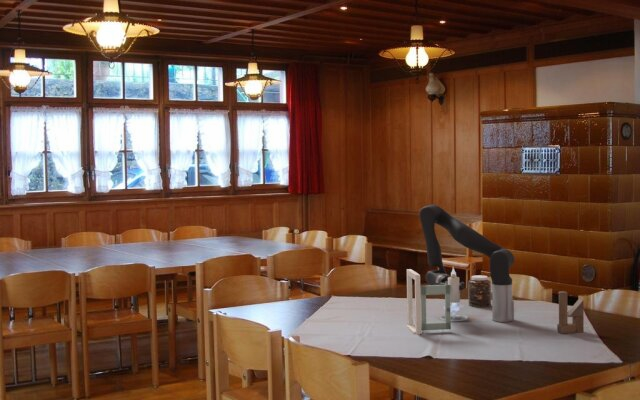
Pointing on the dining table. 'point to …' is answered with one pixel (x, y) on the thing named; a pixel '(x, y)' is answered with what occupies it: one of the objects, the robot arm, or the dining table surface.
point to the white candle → (454, 288)
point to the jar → (479, 291)
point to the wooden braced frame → (570, 315)
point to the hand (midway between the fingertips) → (455, 288)
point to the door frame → (415, 328)
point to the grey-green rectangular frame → (445, 290)
